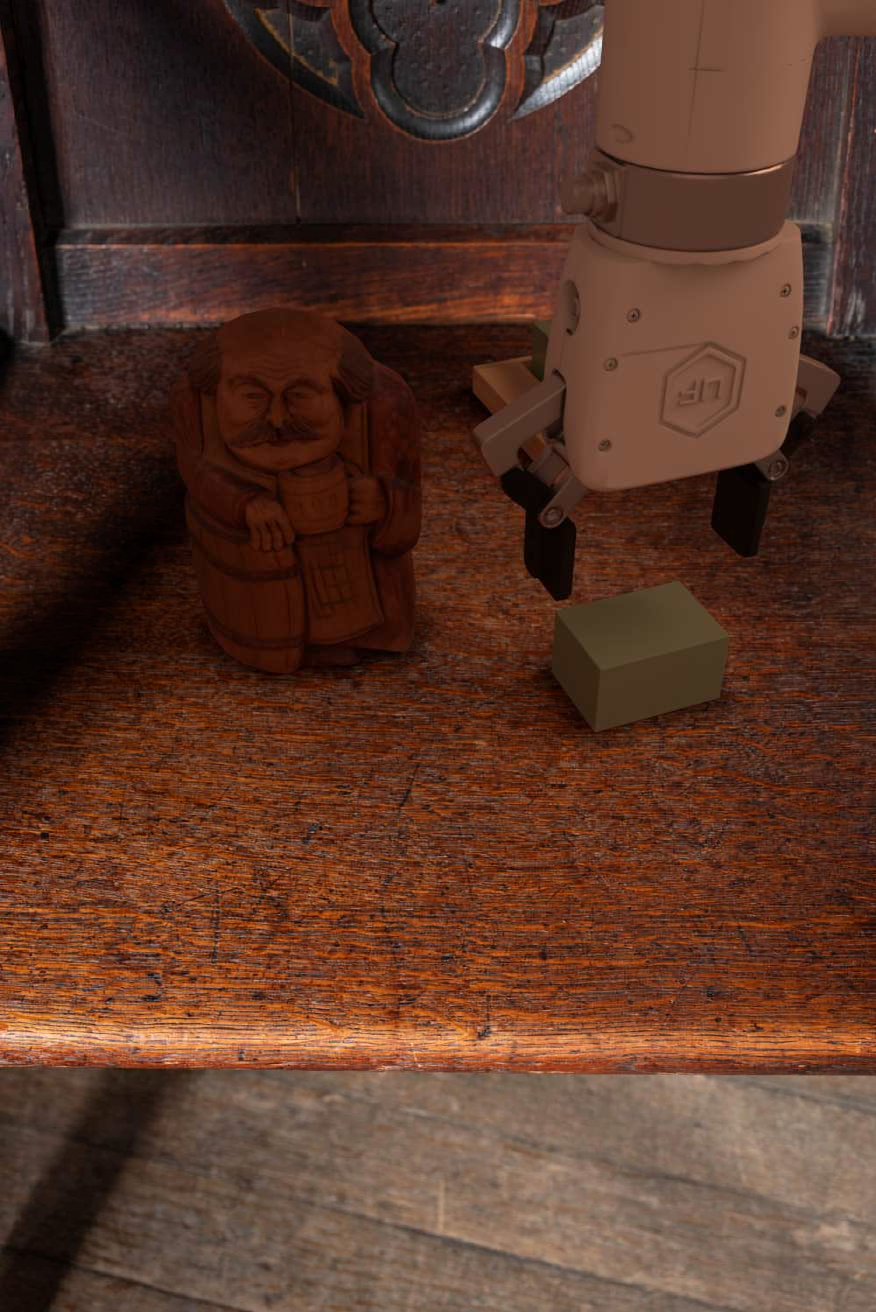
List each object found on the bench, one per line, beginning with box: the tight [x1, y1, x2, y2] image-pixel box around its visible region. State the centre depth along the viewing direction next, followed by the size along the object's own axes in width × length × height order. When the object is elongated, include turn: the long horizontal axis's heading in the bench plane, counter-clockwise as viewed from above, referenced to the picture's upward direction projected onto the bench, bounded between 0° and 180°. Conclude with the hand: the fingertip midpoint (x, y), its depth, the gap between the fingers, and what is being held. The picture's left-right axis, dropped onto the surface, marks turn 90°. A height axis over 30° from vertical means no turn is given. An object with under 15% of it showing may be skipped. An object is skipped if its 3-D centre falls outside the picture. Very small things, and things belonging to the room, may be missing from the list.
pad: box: [551, 580, 731, 733], centre depth 63 cm, size 7×5×4 cm
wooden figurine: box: [169, 307, 423, 674], centre depth 62 cm, size 12×6×18 cm, turn 98°
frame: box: [472, 318, 569, 486], centre depth 85 cm, size 15×14×5 cm
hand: (643, 562), depth 59 cm, fingers open, 9 cm apart
